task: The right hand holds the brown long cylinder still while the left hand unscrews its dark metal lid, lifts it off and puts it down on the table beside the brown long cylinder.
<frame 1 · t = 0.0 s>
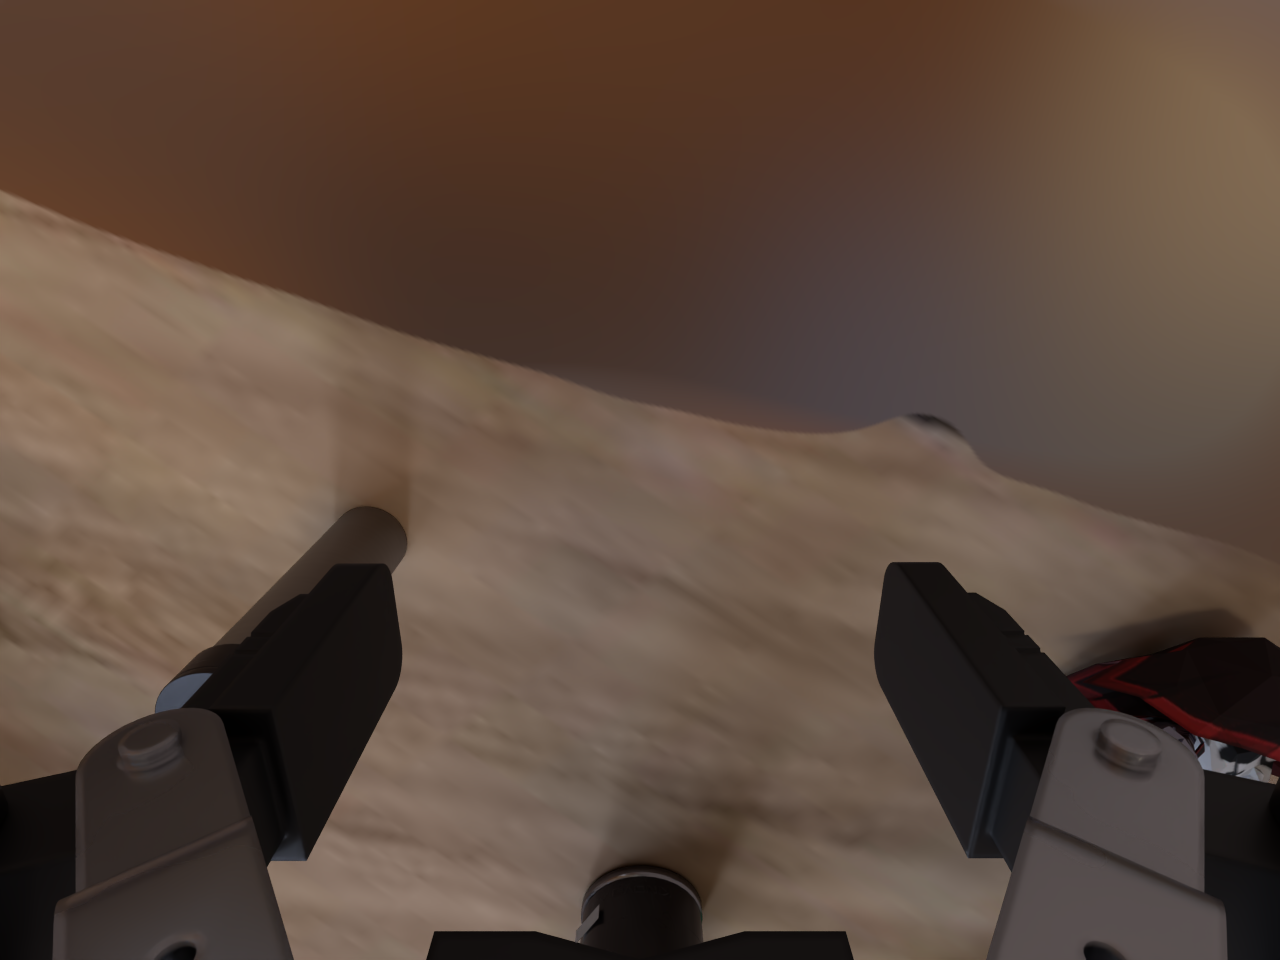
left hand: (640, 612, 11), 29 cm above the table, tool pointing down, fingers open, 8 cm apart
brown long cylinder: (371, 539, 43), on the table
toy: (1130, 674, 47), on the table
lid: (223, 718, 28), point 16 cm above the table, screwed on, not yet turned
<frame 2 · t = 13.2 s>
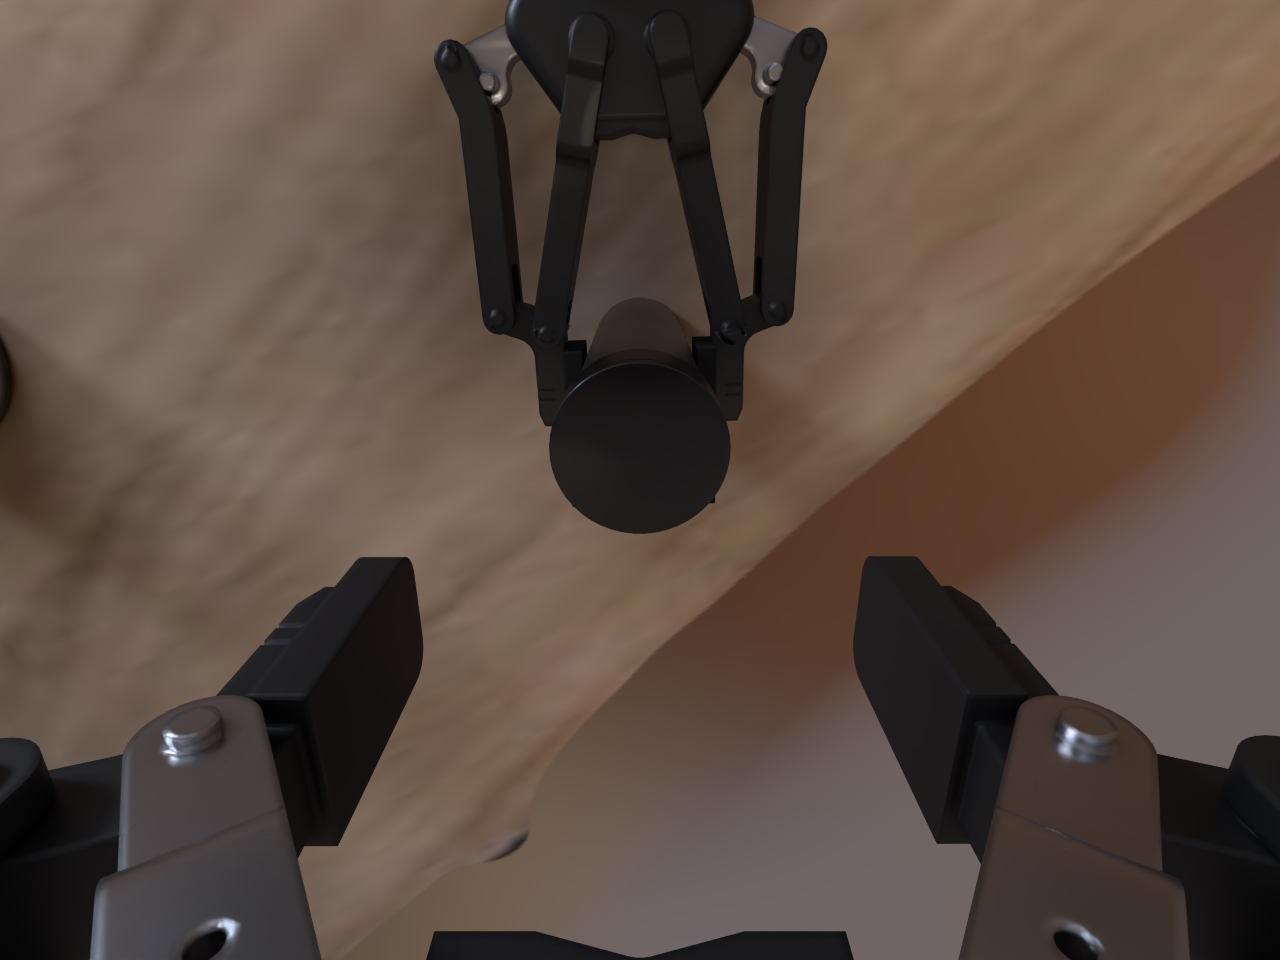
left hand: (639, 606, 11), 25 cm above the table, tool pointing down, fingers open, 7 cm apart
right hand: (643, 491, 30), fingers closed on brown long cylinder, 4 cm apart
brown long cylinder: (639, 344, 35), on the table, touching right hand
lid: (639, 448, 19), point 16 cm above the table, screwed on, not yet turned
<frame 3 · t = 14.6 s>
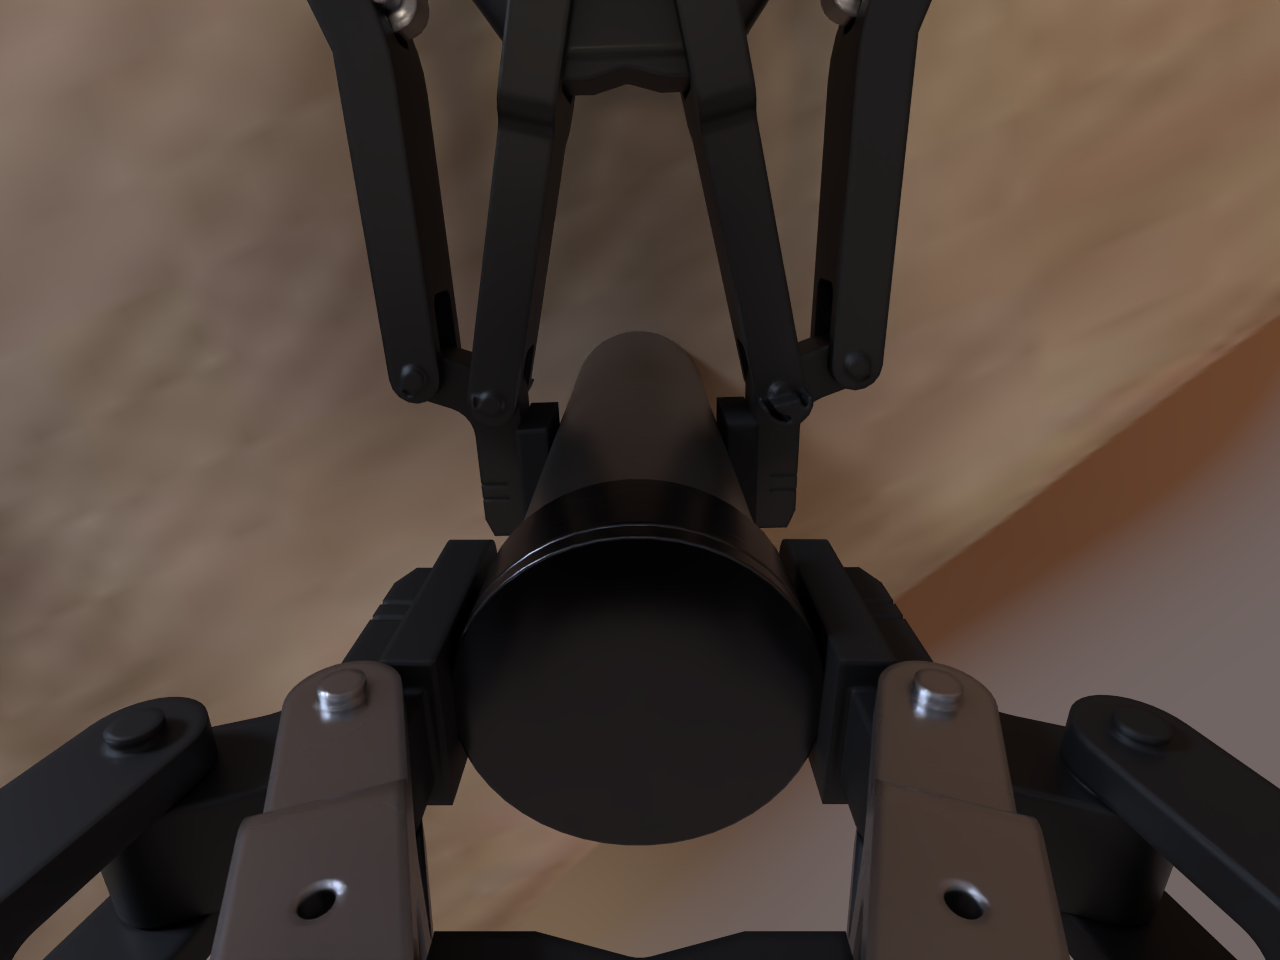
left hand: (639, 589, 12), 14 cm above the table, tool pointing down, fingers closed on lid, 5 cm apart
right hand: (644, 623, 21), fingers closed on brown long cylinder, 4 cm apart
brown long cylinder: (638, 394, 25), on the table, touching right hand
lid: (638, 689, 9), point 16 cm above the table, screwed on, not yet turned, touching left hand
when the left hand's fingers open (14 cm above the table, at t = 16.4 s): lid stays where it is, point 17 cm above the table.
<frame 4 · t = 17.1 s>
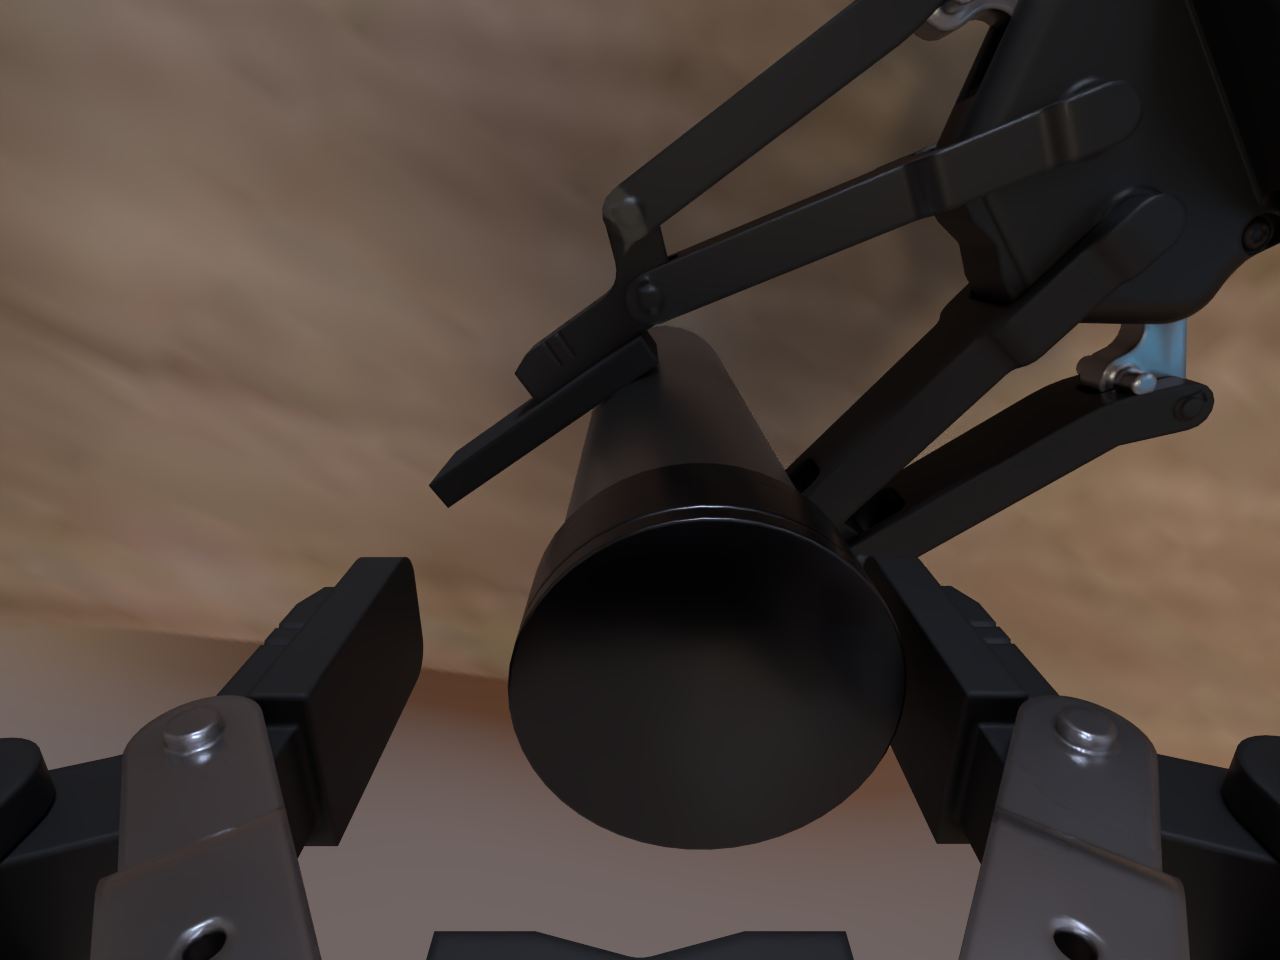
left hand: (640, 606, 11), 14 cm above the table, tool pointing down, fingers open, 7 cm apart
right hand: (513, 548, 20), fingers closed on brown long cylinder, 4 cm apart
brown long cylinder: (663, 390, 25), on the table, touching right hand
lid: (704, 683, 9), point 17 cm above the table, turned 94° so far, risen 0.3 cm, still on its thread
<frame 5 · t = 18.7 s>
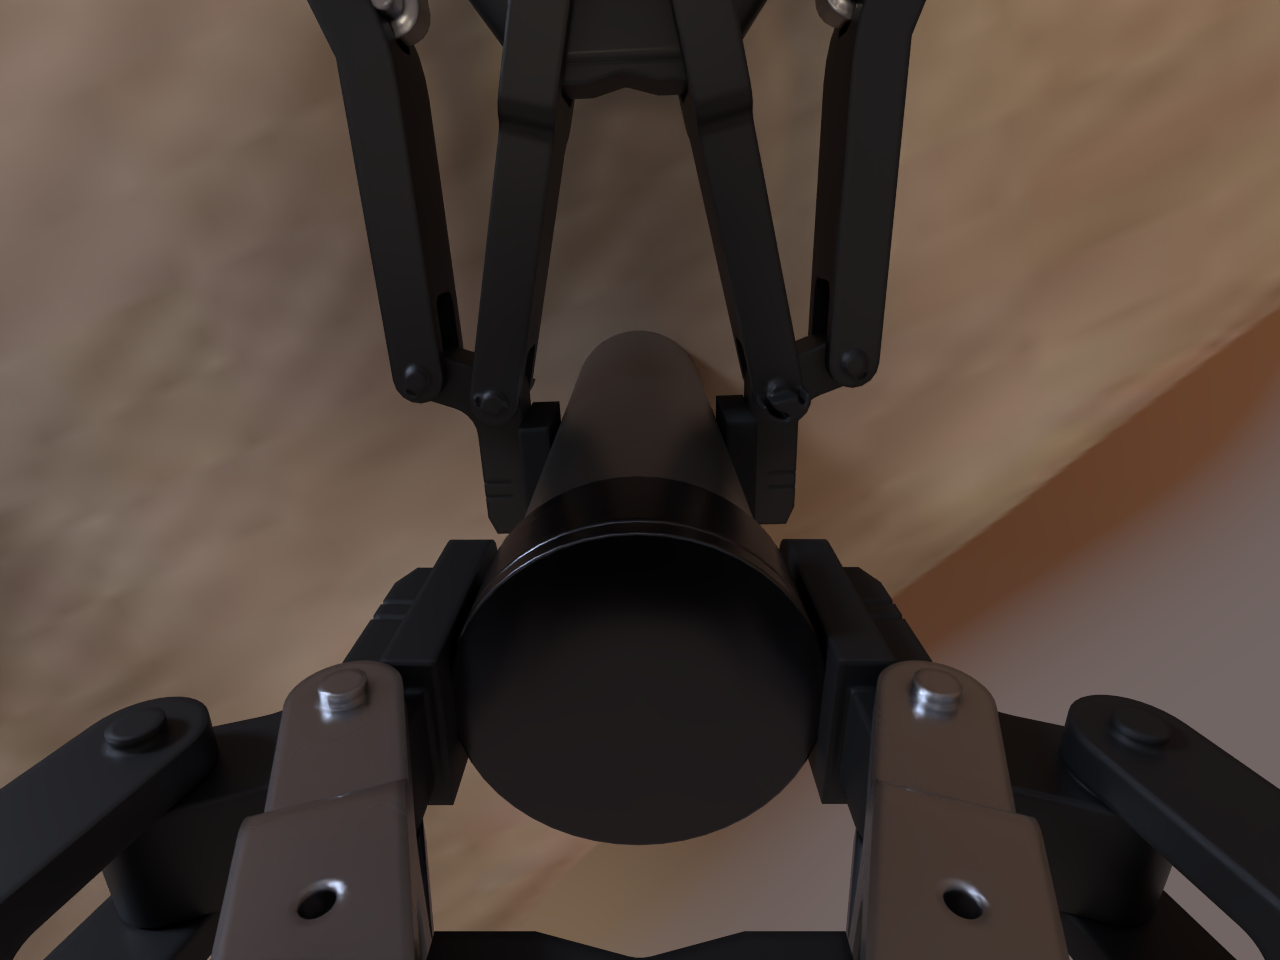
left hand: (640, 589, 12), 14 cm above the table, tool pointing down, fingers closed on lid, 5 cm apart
right hand: (645, 619, 21), fingers closed on brown long cylinder, 4 cm apart
brown long cylinder: (639, 393, 25), on the table, touching right hand
lid: (638, 687, 9), point 17 cm above the table, turned 94° so far, risen 0.3 cm, still on its thread, touching left hand
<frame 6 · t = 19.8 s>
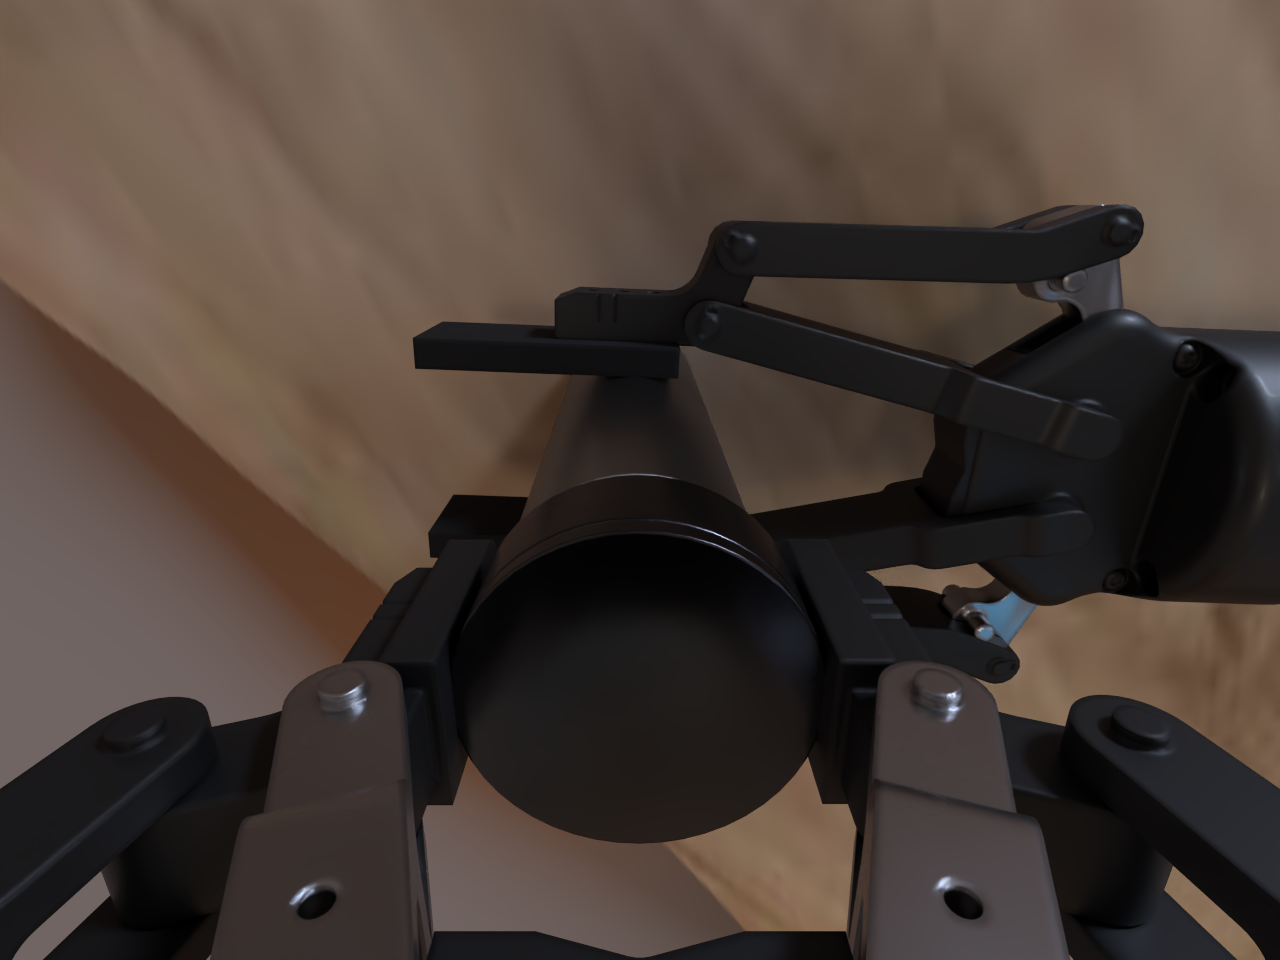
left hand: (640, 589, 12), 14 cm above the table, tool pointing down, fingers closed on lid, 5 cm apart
right hand: (438, 438, 19), fingers closed on brown long cylinder, 4 cm apart
brown long cylinder: (632, 389, 25), on the table, touching right hand
lid: (638, 686, 9), point 17 cm above the table, off its thread, touching left hand
when the left hand's fingers open (0 cm above the table, at t = 25.3 s): lid drops 1 cm, point 2 cm above the table.
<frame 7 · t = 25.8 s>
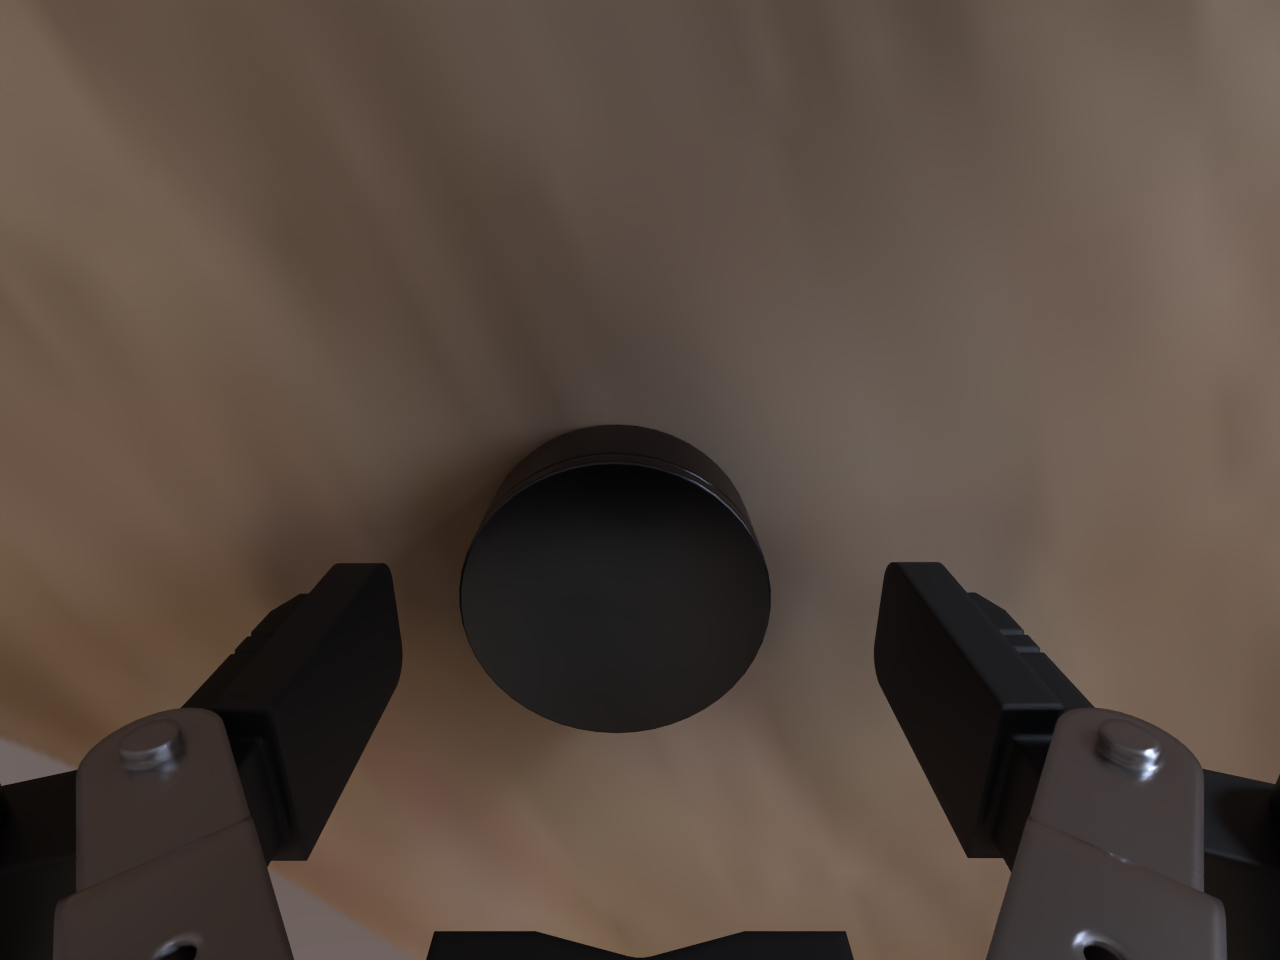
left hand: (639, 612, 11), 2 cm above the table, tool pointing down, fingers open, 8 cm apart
lid: (615, 597, 11), point 2 cm above the table, off its thread
when the right hand's fingers open (6 cm above the table, at t = 26.2 s): brown long cylinder stays where it is, on the table.
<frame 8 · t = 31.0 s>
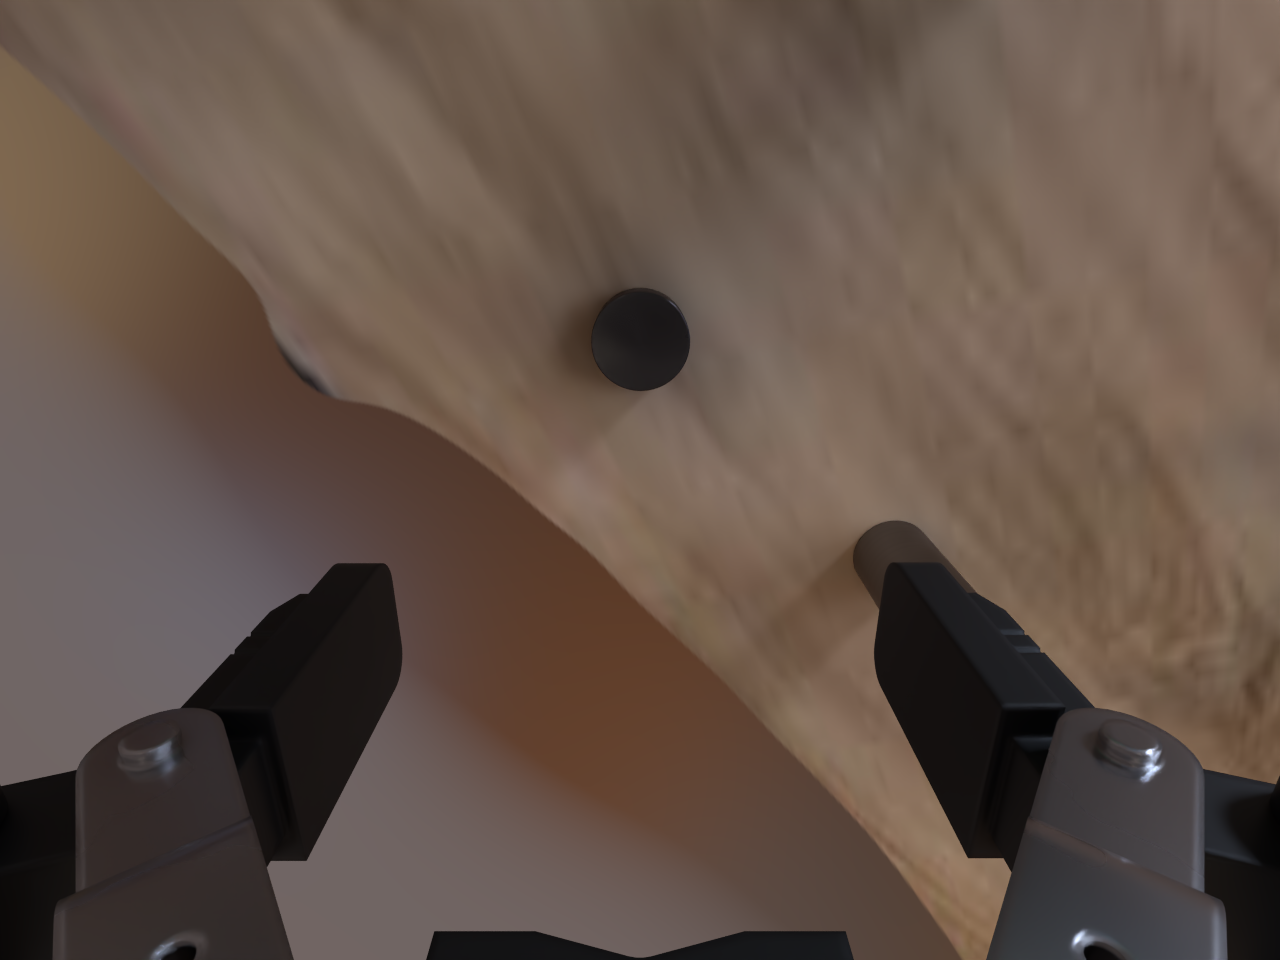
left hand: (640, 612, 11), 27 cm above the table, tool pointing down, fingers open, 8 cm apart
brown long cylinder: (891, 554, 41), on the table
lid: (640, 341, 35), point 2 cm above the table, off its thread
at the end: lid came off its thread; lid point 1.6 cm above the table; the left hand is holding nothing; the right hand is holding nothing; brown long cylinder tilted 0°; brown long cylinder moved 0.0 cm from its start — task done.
